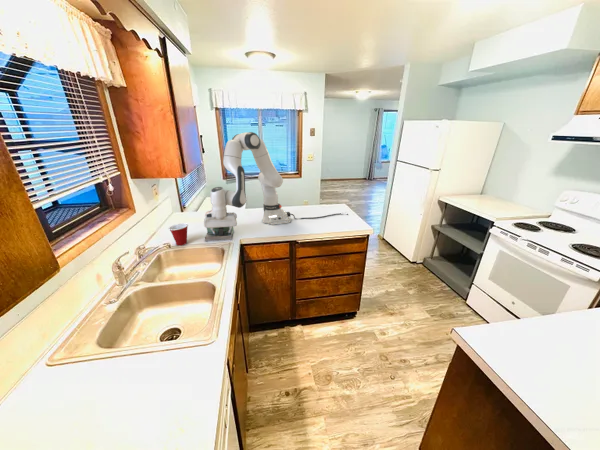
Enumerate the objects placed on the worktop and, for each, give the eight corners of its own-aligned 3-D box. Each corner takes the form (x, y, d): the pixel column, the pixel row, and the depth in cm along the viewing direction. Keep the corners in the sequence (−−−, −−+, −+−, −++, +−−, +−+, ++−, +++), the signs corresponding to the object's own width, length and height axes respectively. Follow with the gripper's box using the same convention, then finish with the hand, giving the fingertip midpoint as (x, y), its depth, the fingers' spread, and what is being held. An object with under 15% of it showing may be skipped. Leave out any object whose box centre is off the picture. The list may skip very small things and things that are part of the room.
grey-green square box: (233, 230, 170) (232, 214, 166) (231, 239, 155) (229, 222, 151) (210, 231, 168) (208, 215, 163) (205, 241, 153) (203, 223, 149)
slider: (223, 232, 158) (223, 227, 157) (223, 234, 155) (222, 228, 154) (220, 233, 158) (219, 227, 156) (219, 234, 155) (218, 229, 153)
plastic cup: (177, 240, 154) (174, 222, 150) (193, 240, 154) (191, 223, 149) (168, 247, 144) (164, 228, 140) (185, 247, 144) (182, 229, 139)
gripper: (236, 210, 156) (238, 230, 161) (204, 212, 153) (206, 232, 158) (236, 213, 150) (237, 234, 155) (202, 215, 147) (204, 235, 152)
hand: (221, 233), depth 156 cm, fingers open, 8 cm apart
